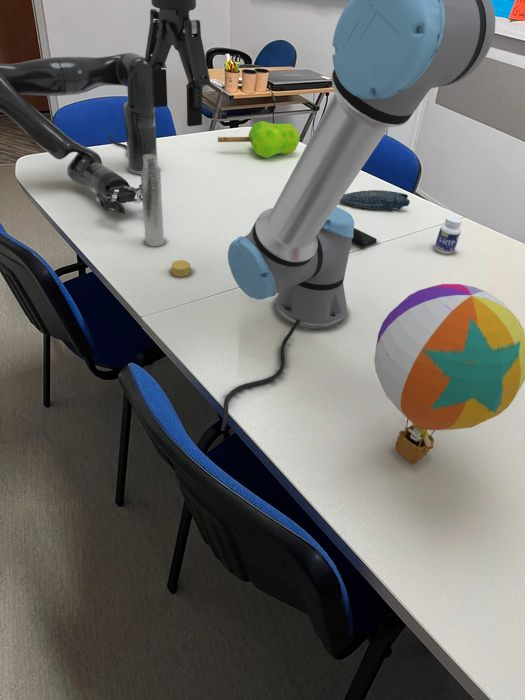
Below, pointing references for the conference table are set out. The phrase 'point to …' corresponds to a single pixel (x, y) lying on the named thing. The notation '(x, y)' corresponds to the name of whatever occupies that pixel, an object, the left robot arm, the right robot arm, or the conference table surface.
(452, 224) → the pill bottle
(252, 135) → the decorative tree
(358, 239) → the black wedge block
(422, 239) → the conference table surface
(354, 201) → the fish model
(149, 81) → the left robot arm
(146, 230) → the bottle
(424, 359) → the toy
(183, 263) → the cap
